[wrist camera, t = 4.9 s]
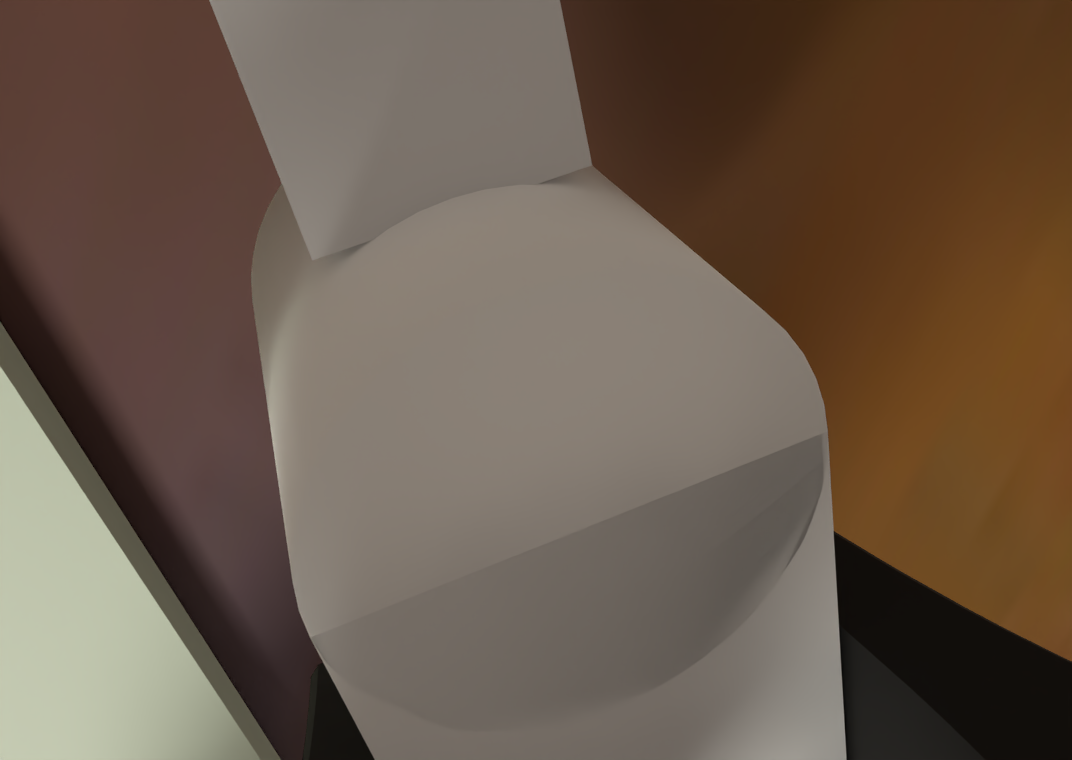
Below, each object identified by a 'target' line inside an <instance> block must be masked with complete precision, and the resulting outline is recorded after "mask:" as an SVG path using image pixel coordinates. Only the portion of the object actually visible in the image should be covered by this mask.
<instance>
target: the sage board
mask: <svg viewBox="0 0 1072 760" xmlns="http://www.w3.org/2000/svg"><path fill="white" fill-rule="evenodd" d="M0 760H281V759H280V757H279V756H278V754H277V753H276V751H275V750H274V748H273V746H272V745H271V743H270V742H269V740H268V739H267V737H266V736H265V734H264V732H263V731H262V729H261V728H260V726H259V725H258V723H257V721H256V720H255V718H254V717H253V715H252V714H251V712H250V711H249V709H248V707H247V706H246V704H245V703H244V701H243V700H242V698H241V697H240V695H239V693H238V692H237V690H236V689H235V687H234V686H233V684H232V682H231V681H230V679H229V678H228V676H227V675H226V673H225V672H224V670H223V668H222V667H221V665H220V664H219V662H218V661H217V659H216V658H215V656H214V654H213V653H212V651H211V650H210V648H209V647H208V645H207V643H206V642H205V640H204V639H203V637H202V636H201V634H200V633H199V631H198V629H197V628H196V626H195V625H194V623H193V622H192V620H191V619H190V617H189V615H188V614H187V612H186V611H185V609H184V608H183V606H182V604H181V603H180V601H179V600H178V598H177V597H176V595H175V594H174V592H173V590H172V589H171V587H170V586H169V584H168V583H167V581H166V580H165V578H164V576H163V575H162V573H161V572H160V570H159V569H158V567H157V565H156V564H155V562H154V561H153V559H152V558H151V556H150V555H149V553H148V551H147V550H146V548H145V547H144V545H143V544H142V542H141V541H140V539H139V537H138V536H137V534H136V533H135V531H134V530H133V528H132V526H131V525H130V523H129V522H128V520H127V519H126V517H125V516H124V514H123V512H122V511H121V509H120V508H119V506H118V505H117V503H116V502H115V500H114V498H113V497H112V495H111V494H110V492H109V491H108V489H107V487H106V486H105V484H104V483H103V481H102V480H101V478H100V477H99V475H98V473H97V472H96V470H95V469H94V467H93V466H92V464H91V463H90V461H89V459H88V458H87V456H86V455H85V453H84V452H83V450H82V448H81V447H80V445H79V444H78V442H77V441H76V439H75V438H74V436H73V434H72V433H71V431H70V430H69V428H68V427H67V425H66V424H65V422H64V420H63V419H62V417H61V416H60V414H59V413H58V411H57V409H56V408H55V406H54V405H53V403H52V402H51V400H50V399H49V397H48V395H47V394H46V392H45V391H44V389H43V388H42V386H41V385H40V383H39V381H38V380H37V378H36V377H35V375H34V374H33V372H32V370H31V369H30V367H29V366H28V364H27V363H26V361H25V360H24V358H23V356H22V355H21V353H20V352H19V350H18V349H17V347H16V346H15V344H14V342H13V341H12V339H11V338H10V336H9V335H8V333H7V331H6V330H5V328H4V327H3V325H2V324H1V322H0Z"/></svg>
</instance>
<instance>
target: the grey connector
mask: <svg viewBox="0 0 1072 760" xmlns="http://www.w3.org/2000/svg"><path fill="white" fill-rule="evenodd" d="M210 3H211V5H212V8H213V11H214V13H215V16H216V18H217V21H218V23H219V26H220V28H221V31H222V33H223V36H224V38H225V41H226V43H227V46H228V48H229V51H230V54H231V56H232V59H233V61H234V64H235V66H236V69H237V71H238V74H239V76H240V79H241V81H242V84H243V86H244V89H245V91H246V94H247V97H248V99H249V102H250V104H251V107H252V109H253V112H254V114H255V117H256V119H257V122H258V124H259V127H260V129H261V132H262V134H263V137H264V139H265V142H266V145H267V147H268V150H269V152H270V155H271V157H272V160H273V162H274V165H275V167H276V170H277V172H278V175H279V177H280V180H281V182H282V184H281V185H280V187H279V189H278V190H277V192H276V194H275V196H274V197H273V199H272V201H271V203H270V204H269V206H268V209H267V211H266V214H265V216H264V219H263V221H262V223H261V226H260V228H259V232H258V236H257V240H256V244H255V248H254V253H253V262H252V273H251V284H252V301H253V308H254V315H255V322H256V329H257V336H258V343H259V350H260V357H261V364H262V371H263V378H264V385H265V392H266V399H267V406H268V413H269V420H270V427H271V434H272V441H273V448H274V455H275V462H276V469H277V476H278V483H279V490H280V497H281V505H282V512H283V519H284V526H285V533H286V540H287V547H288V554H289V561H290V568H291V575H292V582H293V586H294V591H295V596H296V600H297V605H298V609H299V613H300V615H301V617H302V620H303V622H304V625H305V627H306V629H307V632H308V634H309V636H310V639H311V640H312V642H313V644H314V646H315V648H316V650H317V652H318V654H319V656H320V657H321V659H322V661H323V663H324V665H325V667H326V669H327V671H328V672H329V674H330V676H331V678H332V680H333V682H334V684H335V686H336V688H337V689H338V691H339V693H340V695H341V697H342V699H343V701H344V703H345V704H346V706H347V708H348V710H349V712H350V714H351V716H352V718H353V720H354V721H355V723H356V725H357V727H358V729H359V731H360V733H361V735H362V737H363V738H364V740H365V742H366V744H367V746H368V748H369V750H370V752H371V753H372V755H373V757H374V759H375V760H847V759H846V742H845V724H844V707H843V689H842V672H841V654H840V637H839V619H838V602H837V584H836V567H835V549H834V532H833V515H832V497H831V480H830V462H829V445H828V429H827V422H826V415H825V407H824V402H823V399H822V396H821V393H820V389H819V386H818V383H817V380H816V377H815V375H814V373H813V371H812V369H811V367H810V365H809V363H808V361H807V360H806V358H805V356H804V354H803V352H802V351H801V350H800V348H799V347H798V346H797V344H796V343H795V342H794V341H793V339H792V338H791V337H790V335H789V334H788V333H787V331H786V330H785V329H783V328H782V327H781V326H780V325H779V324H778V323H777V322H776V321H775V320H774V319H772V318H771V317H770V316H769V315H768V314H767V313H766V312H765V311H764V310H762V309H761V308H760V307H759V306H758V305H757V304H755V303H754V302H753V301H752V300H751V299H749V298H748V297H747V296H746V295H745V294H744V293H742V292H741V291H740V290H739V289H738V288H736V287H735V286H734V285H733V284H732V283H731V282H729V281H728V280H727V279H726V278H725V277H723V276H722V275H721V274H720V273H719V272H717V271H716V270H715V269H714V268H713V267H712V266H710V265H709V264H708V263H707V262H706V261H704V260H703V259H702V258H701V257H700V256H699V255H697V254H696V253H695V252H694V251H693V250H691V249H690V248H689V247H688V246H687V245H686V244H684V243H683V242H682V241H681V240H680V239H678V238H677V237H676V236H675V235H674V234H673V233H671V232H670V231H669V230H668V229H667V228H665V227H664V226H663V225H662V224H661V223H659V222H658V221H657V220H656V219H655V218H654V217H652V216H651V215H650V214H649V213H648V212H646V211H645V210H644V209H643V208H642V207H641V206H639V205H638V204H637V203H636V202H635V201H633V200H632V199H631V198H630V197H629V196H628V195H626V194H625V193H624V192H623V191H622V190H620V189H619V188H618V187H617V186H616V185H615V184H613V183H612V182H611V181H610V180H609V179H607V178H606V177H605V176H604V175H603V174H601V173H600V172H599V171H598V170H597V169H596V168H594V167H593V166H592V162H591V157H590V152H589V147H588V142H587V136H586V131H585V126H584V121H583V116H582V111H581V106H580V101H579V96H578V90H577V85H576V80H575V75H574V70H573V65H572V60H571V55H570V50H569V44H568V39H567V34H566V29H565V24H564V19H563V14H562V9H561V4H560V0H210Z"/></svg>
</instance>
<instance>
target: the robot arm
mask: <svg viewBox="0 0 1072 760" xmlns="http://www.w3.org/2000/svg"><path fill="white" fill-rule="evenodd" d="M833 532H834V531H833ZM834 549H835V567H836V584H837V602H838V619H839V637H840V654H841V672H842V689H843V707H844V724H845V742H846V759H847V760H1072V662H1071V661H1069V660H1067V659H1065V658H1063V657H1061V656H1059V655H1057V654H1055V653H1053V652H1051V651H1049V650H1047V649H1045V648H1043V647H1041V646H1039V645H1037V644H1035V643H1033V642H1031V641H1029V640H1027V639H1025V638H1023V637H1021V636H1019V635H1017V634H1015V633H1013V632H1011V631H1009V630H1007V629H1005V628H1003V627H1001V626H999V625H997V624H995V623H993V622H991V621H990V620H988V619H986V618H984V617H982V616H980V615H978V614H976V613H974V612H973V611H971V610H969V609H967V608H965V607H963V606H962V605H960V604H958V603H956V602H954V601H953V600H951V599H949V598H947V597H945V596H944V595H942V594H940V593H938V592H936V591H935V590H933V589H931V588H929V587H928V586H926V585H924V584H922V583H920V582H919V581H917V580H915V579H913V578H911V577H910V576H908V575H906V574H904V573H903V572H901V571H899V570H898V569H896V568H894V567H892V566H891V565H889V564H887V563H886V562H884V561H882V560H880V559H879V558H877V557H875V556H874V555H872V554H870V553H869V552H867V551H866V550H864V549H862V548H861V547H859V546H857V545H856V544H854V543H852V542H851V541H849V540H847V539H846V538H844V537H842V536H841V535H839V534H838V533H836V532H834ZM302 760H375V759H374V757H373V755H372V753H371V752H370V750H369V748H368V746H367V744H366V742H365V740H364V738H363V737H362V735H361V733H360V731H359V729H358V727H357V725H356V723H355V721H354V720H353V718H352V716H351V714H350V712H349V710H348V708H347V706H346V704H345V703H344V701H343V699H342V697H341V695H340V693H339V691H338V689H337V688H336V686H335V684H334V682H333V680H332V678H331V676H330V674H329V672H328V671H327V669H326V667H325V665H324V663H322V664H319V665H318V666H317V668H316V669H315V671H314V673H313V675H312V676H311V685H310V700H309V710H308V720H307V729H306V737H305V745H304V752H303V759H302Z"/></svg>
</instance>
